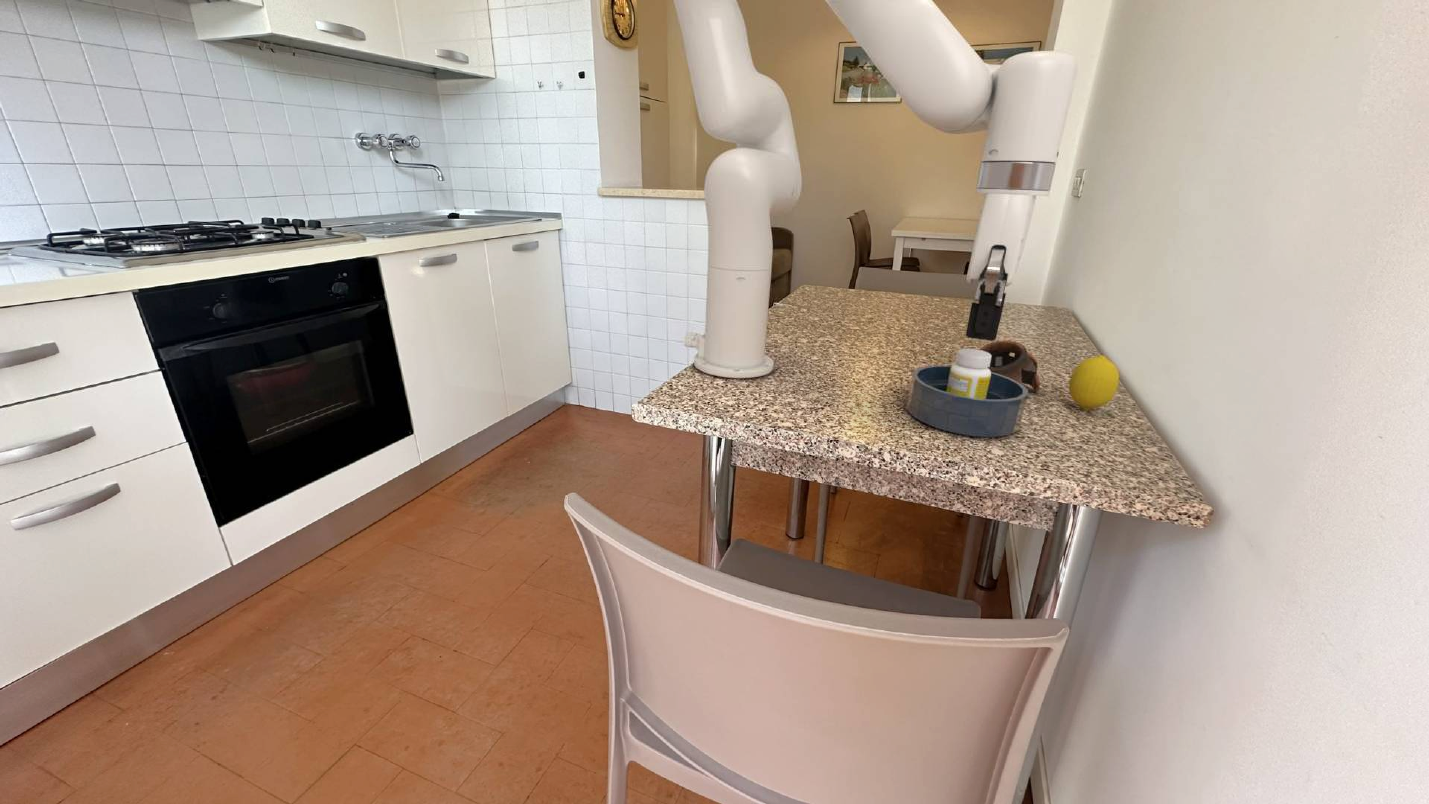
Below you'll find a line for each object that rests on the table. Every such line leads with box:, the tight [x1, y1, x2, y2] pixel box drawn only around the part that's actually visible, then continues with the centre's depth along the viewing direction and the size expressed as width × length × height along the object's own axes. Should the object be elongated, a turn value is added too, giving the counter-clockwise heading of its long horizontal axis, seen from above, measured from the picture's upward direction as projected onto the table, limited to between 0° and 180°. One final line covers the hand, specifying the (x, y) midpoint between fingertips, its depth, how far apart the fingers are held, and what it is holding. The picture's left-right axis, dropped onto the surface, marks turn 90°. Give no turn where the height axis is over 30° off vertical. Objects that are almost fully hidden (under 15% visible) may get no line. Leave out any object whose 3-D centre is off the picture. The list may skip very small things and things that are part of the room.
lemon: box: [1068, 354, 1120, 412], centre depth 78 cm, size 6×6×8 cm
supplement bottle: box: [946, 348, 991, 399], centre depth 73 cm, size 5×5×8 cm
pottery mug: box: [978, 339, 1041, 395], centre depth 86 cm, size 12×10×8 cm
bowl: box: [906, 364, 1029, 438], centre depth 74 cm, size 14×14×5 cm
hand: (983, 330), depth 70 cm, fingers open, 9 cm apart
